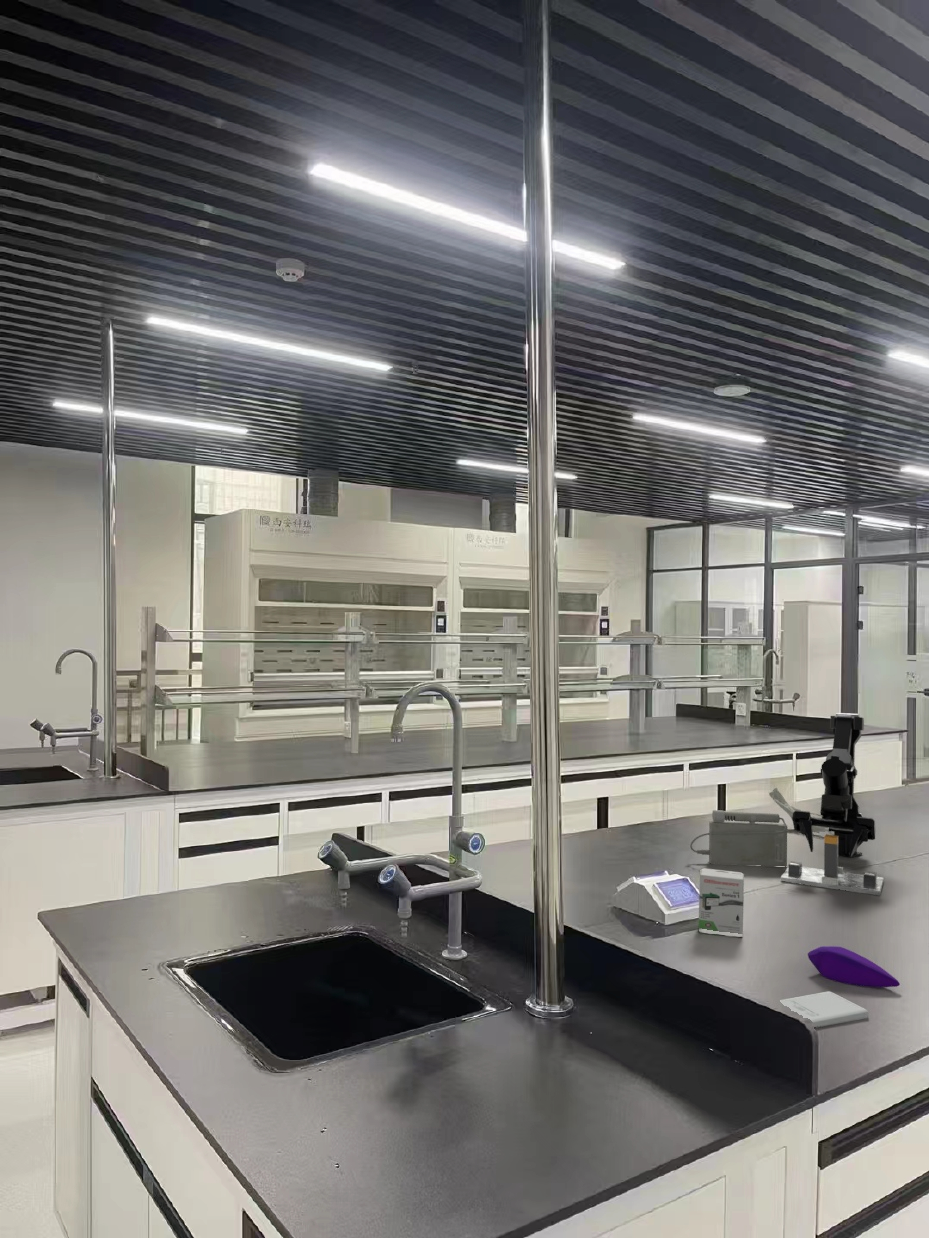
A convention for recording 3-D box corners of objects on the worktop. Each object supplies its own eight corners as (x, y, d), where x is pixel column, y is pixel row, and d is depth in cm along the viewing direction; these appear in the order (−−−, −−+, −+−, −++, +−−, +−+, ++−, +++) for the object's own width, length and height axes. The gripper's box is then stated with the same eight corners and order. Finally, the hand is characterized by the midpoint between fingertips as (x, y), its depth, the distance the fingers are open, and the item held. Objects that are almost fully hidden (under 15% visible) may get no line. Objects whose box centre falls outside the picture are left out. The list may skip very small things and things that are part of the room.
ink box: (697, 933, 170) (698, 873, 171) (698, 925, 175) (699, 867, 175) (743, 938, 168) (744, 877, 168) (743, 930, 172) (743, 871, 173)
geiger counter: (784, 811, 228) (688, 807, 231) (790, 815, 222) (692, 811, 224) (783, 863, 228) (688, 859, 230) (790, 869, 221) (692, 865, 224)
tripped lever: (825, 875, 211) (826, 834, 211) (838, 877, 209) (838, 835, 210) (824, 878, 208) (824, 836, 208) (836, 880, 207) (836, 838, 207)
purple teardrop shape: (898, 974, 141) (804, 943, 150) (895, 1003, 141) (801, 971, 150) (904, 965, 145) (812, 936, 154) (901, 994, 145) (809, 963, 154)
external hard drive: (868, 1020, 132) (805, 1032, 128) (828, 1000, 140) (767, 1010, 136) (868, 1010, 132) (805, 1021, 128) (828, 989, 140) (767, 999, 136)
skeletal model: (842, 840, 257) (779, 777, 268) (820, 860, 261) (759, 797, 272) (853, 831, 270) (793, 771, 281) (832, 849, 274) (773, 789, 285)
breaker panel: (789, 868, 222) (789, 854, 222) (883, 881, 212) (883, 866, 212) (780, 881, 210) (780, 866, 210) (879, 895, 199) (880, 879, 199)
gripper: (793, 778, 217) (786, 829, 207) (874, 785, 208) (871, 839, 198) (798, 804, 224) (791, 855, 214) (876, 812, 215) (873, 866, 205)
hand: (830, 853), depth 208 cm, fingers open, 8 cm apart
